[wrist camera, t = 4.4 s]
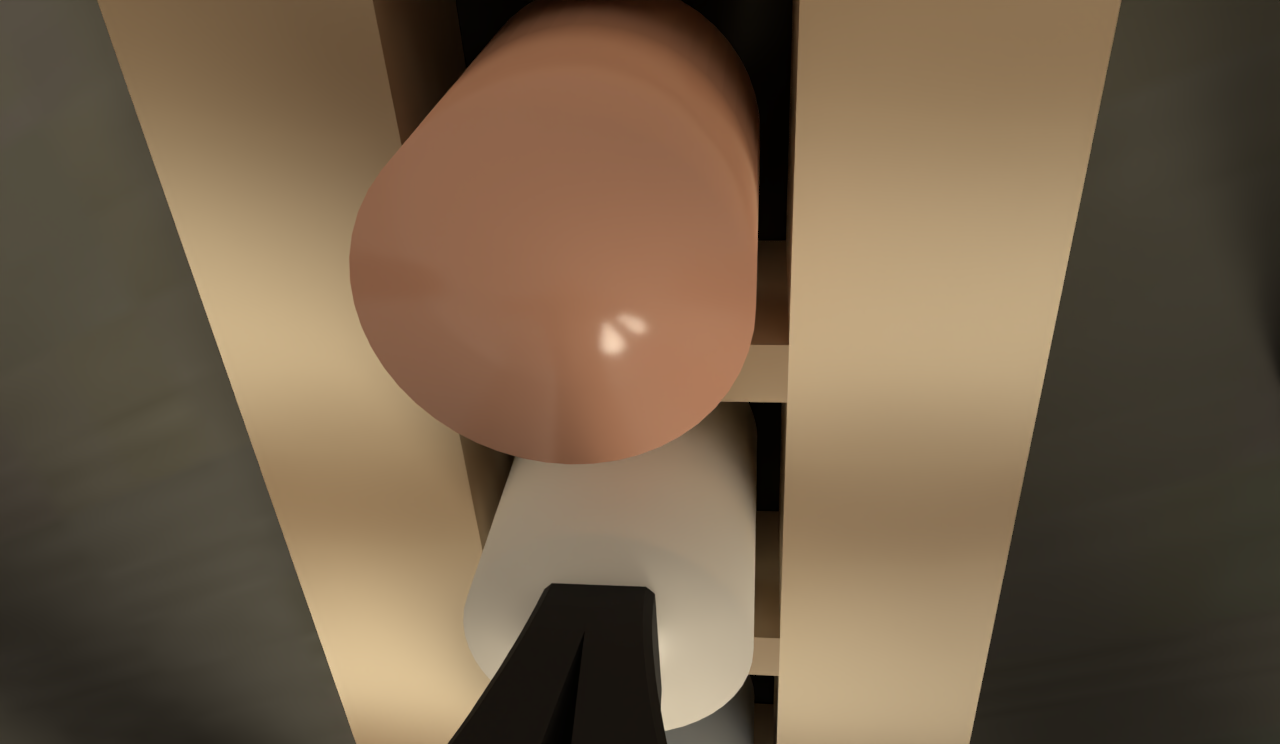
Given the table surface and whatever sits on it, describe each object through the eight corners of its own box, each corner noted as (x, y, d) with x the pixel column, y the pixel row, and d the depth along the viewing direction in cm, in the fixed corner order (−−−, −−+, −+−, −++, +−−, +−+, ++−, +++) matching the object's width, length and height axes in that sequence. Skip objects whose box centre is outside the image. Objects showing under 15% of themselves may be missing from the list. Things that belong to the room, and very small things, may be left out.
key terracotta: (758, 265, 14) (754, 468, 10) (490, 266, 14) (393, 459, 10) (761, -25, 11) (757, 98, 8) (446, -13, 12) (305, 108, 8)
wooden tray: (921, 747, 21) (940, 883, 19) (432, 719, 23) (391, 842, 20) (1075, -212, 11) (1160, -190, 9) (190, -161, 13) (52, -130, 10)
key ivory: (756, 524, 17) (752, 741, 14) (543, 517, 18) (485, 726, 14) (758, 340, 15) (754, 538, 12) (517, 337, 16) (440, 528, 12)
